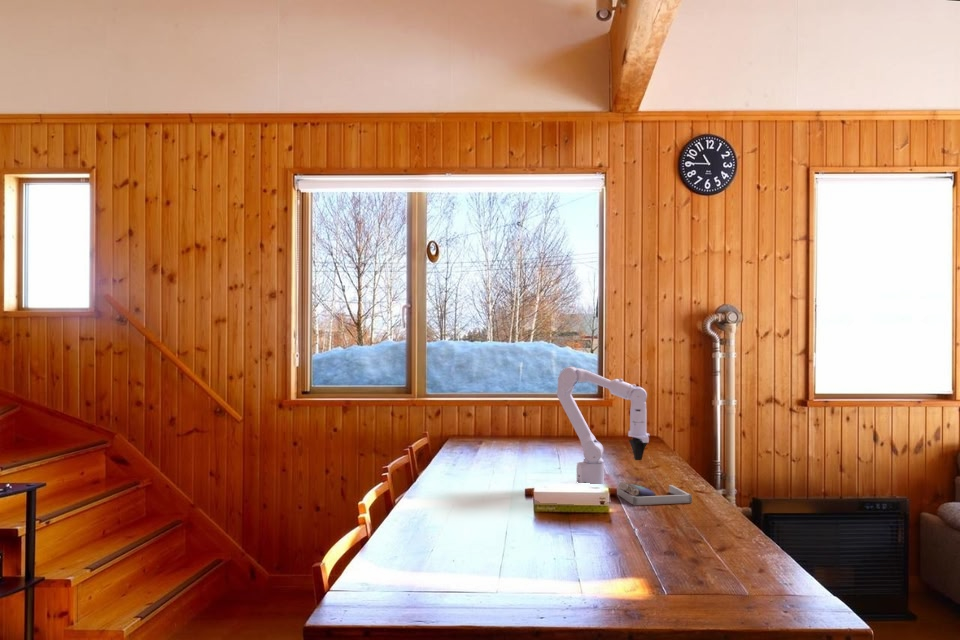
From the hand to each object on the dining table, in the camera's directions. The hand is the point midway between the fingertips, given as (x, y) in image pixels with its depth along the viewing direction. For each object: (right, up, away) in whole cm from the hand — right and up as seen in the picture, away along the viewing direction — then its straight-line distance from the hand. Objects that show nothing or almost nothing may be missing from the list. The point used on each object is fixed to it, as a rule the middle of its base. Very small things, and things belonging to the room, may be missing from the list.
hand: (638, 459), depth 261 cm
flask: (0, -9, -11) cm, 14 cm away
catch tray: (+2, -10, -13) cm, 17 cm away
